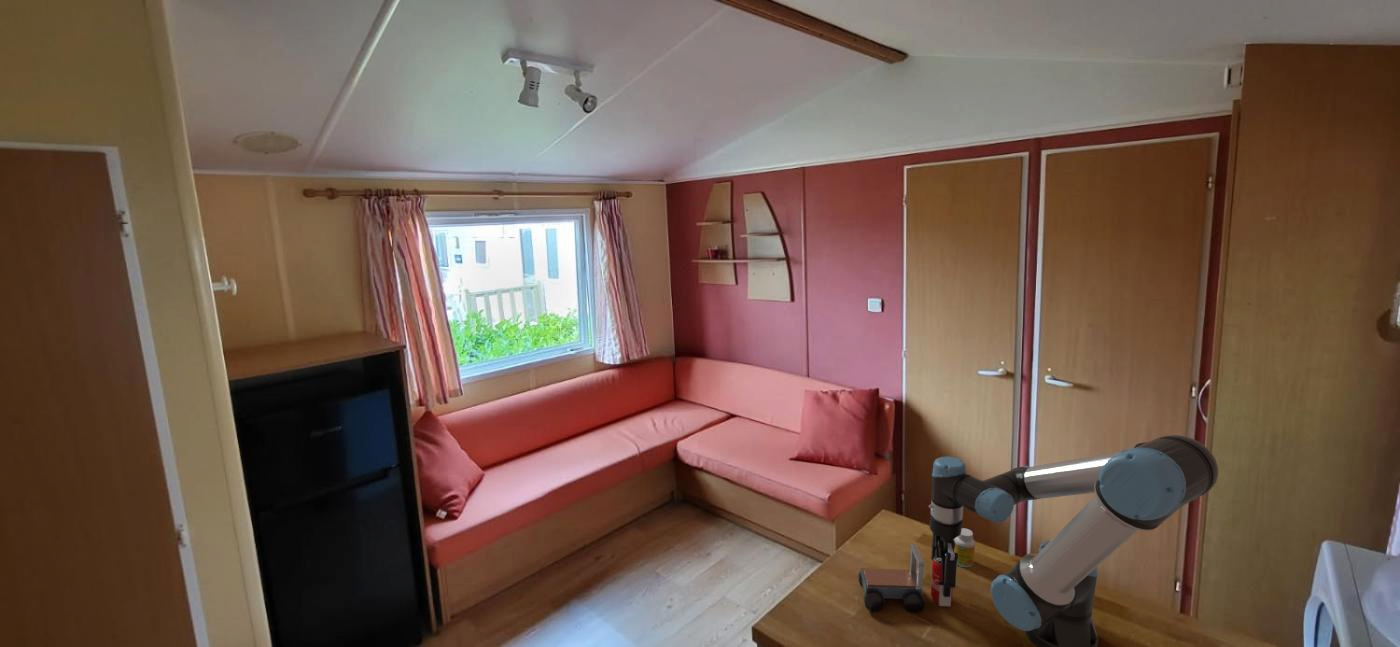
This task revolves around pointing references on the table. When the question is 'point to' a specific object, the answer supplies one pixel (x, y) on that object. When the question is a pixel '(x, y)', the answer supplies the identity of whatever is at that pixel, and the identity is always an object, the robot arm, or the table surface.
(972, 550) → the supplement bottle
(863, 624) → the table surface
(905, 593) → the trolley
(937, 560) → the beverage can
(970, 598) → the table surface
